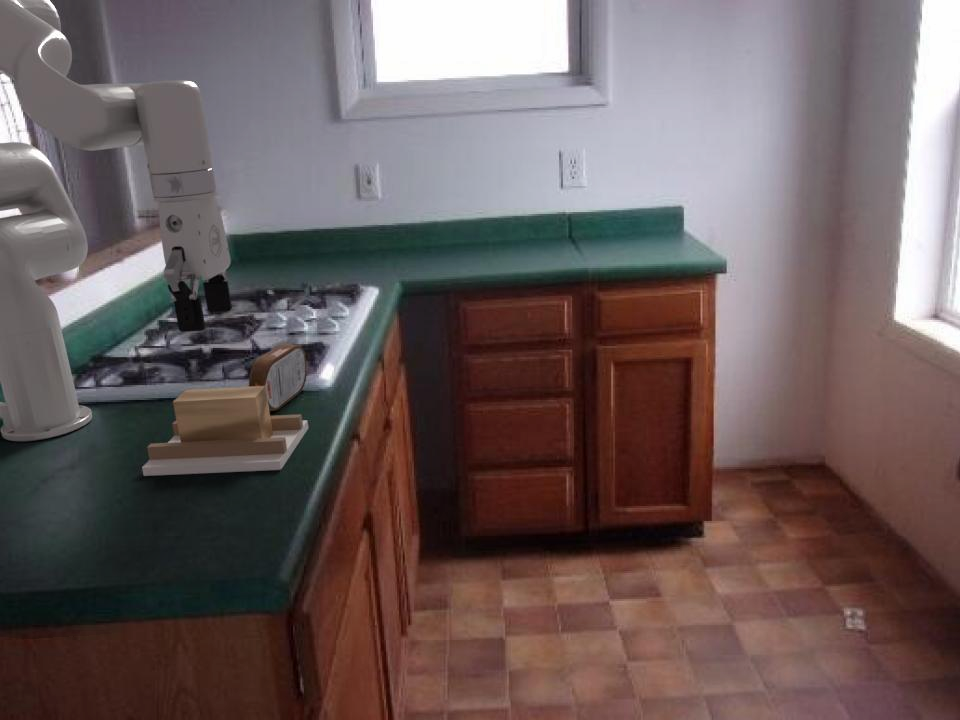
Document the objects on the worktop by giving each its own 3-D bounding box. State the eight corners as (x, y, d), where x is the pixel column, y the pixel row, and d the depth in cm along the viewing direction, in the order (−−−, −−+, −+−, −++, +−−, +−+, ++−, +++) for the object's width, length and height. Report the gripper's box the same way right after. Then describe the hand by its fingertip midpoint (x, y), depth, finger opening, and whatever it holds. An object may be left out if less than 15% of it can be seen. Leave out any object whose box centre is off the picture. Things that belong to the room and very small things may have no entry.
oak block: (263, 447, 113) (255, 397, 111) (182, 451, 114) (172, 401, 112) (273, 434, 118) (265, 385, 116) (195, 437, 119) (186, 390, 117)
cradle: (143, 475, 110) (139, 454, 110) (185, 434, 124) (182, 414, 123) (280, 469, 109) (277, 447, 108) (308, 428, 122) (305, 408, 121)
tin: (295, 385, 142) (288, 336, 139) (313, 386, 141) (306, 336, 138) (251, 419, 128) (242, 365, 125) (270, 420, 127) (261, 365, 125)
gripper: (186, 192, 98) (211, 337, 103) (236, 177, 114) (256, 302, 119) (122, 196, 98) (150, 340, 103) (181, 180, 115) (203, 305, 120)
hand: (207, 320), depth 111 cm, fingers open, 9 cm apart
